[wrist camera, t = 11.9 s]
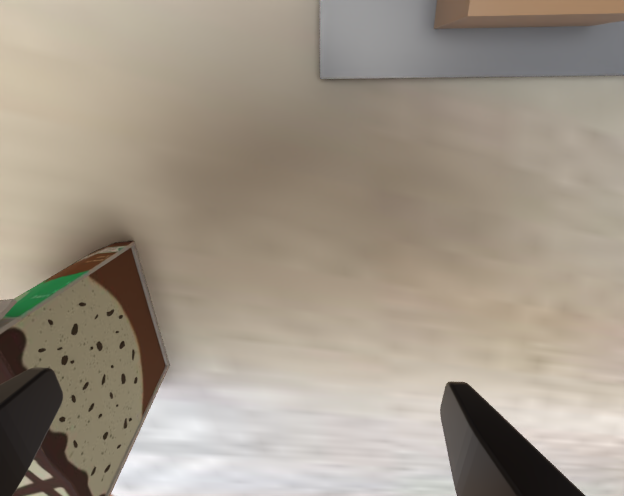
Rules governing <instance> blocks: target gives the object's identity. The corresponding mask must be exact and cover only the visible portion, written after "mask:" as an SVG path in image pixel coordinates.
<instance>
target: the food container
mask: <svg viewBox="0 0 624 496" xmlns="http://www.w3.org/2000/svg"><path fill="white" fill-rule="evenodd" d="M169 366H170V365H169V361H168V358H167V354H166V351H165V347H164V344H163V340H162V337H161V333H160V330H159V326H158V323H157V319H156V316H155V312H154V309H153V305H152V302H151V298H150V295H149V291H148V288H147V284H146V281H145V277H144V274H143V270H142V267H141V263H140V260H139V257H138V253H137V250H136V246H135V243H134V241H128V242H119V243H114V244H111V245H109V246H106V247H104V248H102V249H99V250H97V251H95V252H93V253H91V254H89V255H88V256H86V257H84V258H83V259H81V260H79V261H77V262H76V263H74V264H72V265H71V266H69V267H67V268H66V269H64V270H62V271H60V272H59V273H57V274H55V275H54V276H52V277H50V278H49V279H47V280H45V281H44V282H42V283H40V284H38V285H37V286H35V287H33V288H32V289H30V290H28V291H27V292H25V293H23V294H22V295H20V296H18V297H16V298H15V299H10V300H0V384H2V383H4V382H6V381H8V380H10V379H11V378H13V377H15V376H17V375H19V374H21V373H22V372H24V371H26V370H28V369H30V368H34V367H40V368H51V369H52V370H54V372H55V374H56V377H57V379H58V381H59V384H60V386H61V389H62V391H63V401H62V404H61V406H60V408H59V410H58V412H57V414H56V416H55V418H54V420H53V422H52V424H51V426H50V428H49V430H48V432H47V434H46V436H45V438H44V440H43V442H42V444H41V446H40V448H39V450H38V452H37V454H36V456H35V458H34V460H33V462H32V463H31V465H30V467H29V469H28V471H27V473H26V474H25V476H24V478H23V480H22V481H21V483H20V485H19V486H18V488H17V489H16V491H15V493H14V494H13V496H110V494H111V492H112V490H113V488H114V486H115V483H116V481H117V479H118V477H119V475H120V473H121V470H122V468H123V466H124V464H125V462H126V459H127V457H128V455H129V453H130V451H131V449H132V446H133V444H134V442H135V440H136V438H137V435H138V433H139V431H140V429H141V427H142V425H143V422H144V420H145V418H146V416H147V414H148V411H149V409H150V407H151V405H152V403H153V401H154V398H155V396H156V394H157V392H158V390H159V387H160V385H161V383H162V381H163V379H164V377H165V374H166V372H167V370H168V368H169Z"/></svg>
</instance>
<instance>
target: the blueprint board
mask: <svg viewBox="0 0 624 496" xmlns="http://www.w3.org/2000/svg"><path fill="white" fill-rule="evenodd" d="M604 75H624V0H320V79H357V78H439V77H522V76H604Z"/></svg>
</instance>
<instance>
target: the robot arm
mask: <svg viewBox="0 0 624 496" xmlns="http://www.w3.org/2000/svg"><path fill="white" fill-rule="evenodd" d="M62 401H63V391H62V389H61V386H60V384H59V381H58V379H57V377H56V374H55V372H54V370H52V369H51V368H40V367H34V368H30V369H28V370H26V371H24V372H22V373H21V374H19V375H17V376H15V377H13V378H11V379H10V380H8V381H6V382H4V383H2V384H0V496H13V494H14V493H15V491H16V489H17V488H18V486H19V485H20V483H21V481H22V480H23V478H24V476H25V474H26V473H27V471H28V469H29V467H30V465H31V463H32V462H33V460H34V458H35V456H36V454H37V452H38V450H39V448H40V446H41V444H42V442H43V440H44V438H45V436H46V434H47V432H48V430H49V428H50V426H51V424H52V422H53V420H54V418H55V416H56V414H57V412H58V410H59V408H60V406H61V404H62ZM440 414H441V421H442V426H443V431H444V436H445V441H446V446H447V451H448V456H449V461H450V466H451V471H452V476H453V481H454V486H455V490H456V494H457V496H585V495H584V494H583V493H582V492H581V491H580V490H579V489H578V488H577V487H576V486H575V485H574V484H573V483H572V482H571V481H569V480H568V479H567V478H566V477H565V476H564V475H563V474H562V473H561V472H560V471H559V470H558V469H557V468H556V467H555V466H554V465H553V464H552V463H551V462H550V461H548V460H547V459H546V458H545V457H544V456H543V455H542V454H541V453H540V452H539V451H538V450H537V449H536V448H535V447H534V446H533V445H532V444H531V443H530V442H529V441H528V440H526V439H525V438H524V437H523V436H522V435H521V434H520V433H519V432H518V431H517V430H516V429H515V428H514V427H513V426H512V425H511V424H510V423H509V422H508V421H507V420H506V419H504V418H503V417H502V416H501V415H500V414H499V413H498V412H497V411H496V410H495V409H494V408H493V407H492V406H491V405H490V404H489V403H488V402H487V401H486V400H485V399H484V398H482V397H481V396H480V395H479V394H478V393H477V392H476V391H475V390H474V389H473V388H472V387H471V386H470V385H469V384H467V383H465V382H448V383H447V384H446V386H445V391H444V395H443V399H442V403H441V409H440Z"/></svg>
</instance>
